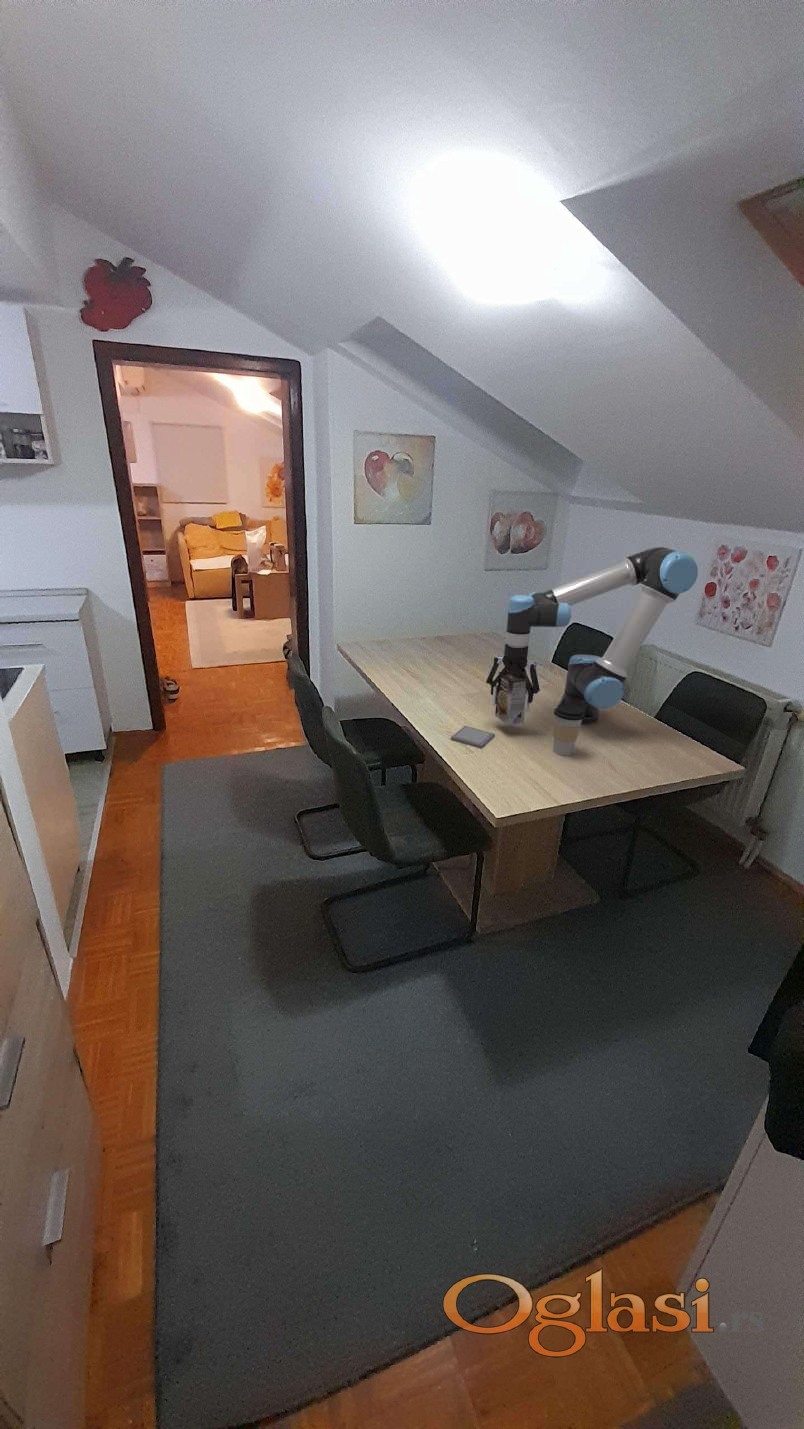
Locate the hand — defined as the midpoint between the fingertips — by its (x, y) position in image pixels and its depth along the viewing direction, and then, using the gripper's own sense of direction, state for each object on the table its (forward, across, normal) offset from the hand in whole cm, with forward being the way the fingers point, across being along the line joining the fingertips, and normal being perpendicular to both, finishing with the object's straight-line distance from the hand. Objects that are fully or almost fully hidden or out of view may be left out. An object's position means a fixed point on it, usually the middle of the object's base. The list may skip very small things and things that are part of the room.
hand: (510, 707), depth 197 cm
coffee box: (+5, 0, 0) cm, 5 cm away
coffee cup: (+9, -20, +4) cm, 23 cm away
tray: (+8, +8, +12) cm, 17 cm away
